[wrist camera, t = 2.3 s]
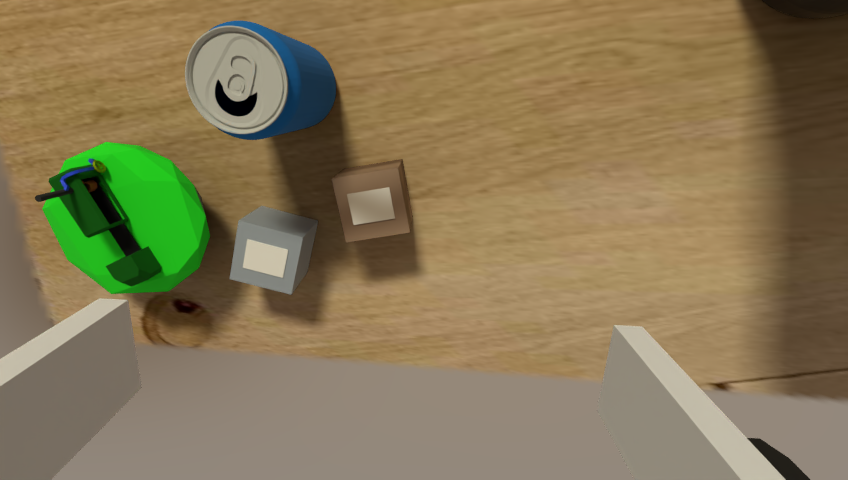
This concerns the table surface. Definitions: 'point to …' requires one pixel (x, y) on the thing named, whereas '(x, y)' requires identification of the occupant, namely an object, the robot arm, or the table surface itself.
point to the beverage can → (258, 81)
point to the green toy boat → (127, 218)
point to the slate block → (273, 249)
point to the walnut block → (373, 200)
